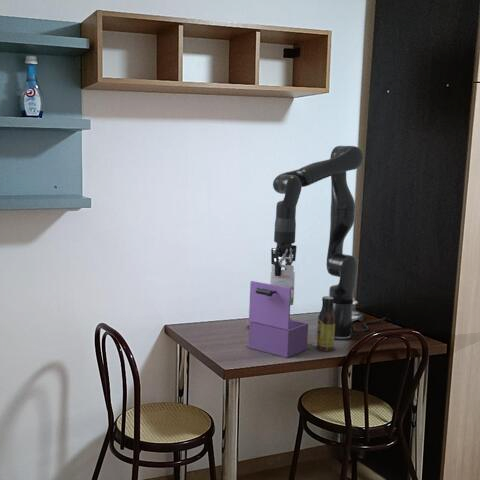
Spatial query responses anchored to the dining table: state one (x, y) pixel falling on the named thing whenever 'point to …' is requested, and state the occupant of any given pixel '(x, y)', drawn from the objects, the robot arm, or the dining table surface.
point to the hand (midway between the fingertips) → (282, 274)
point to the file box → (279, 338)
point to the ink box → (284, 278)
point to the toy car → (356, 313)
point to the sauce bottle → (326, 325)
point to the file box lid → (270, 304)
